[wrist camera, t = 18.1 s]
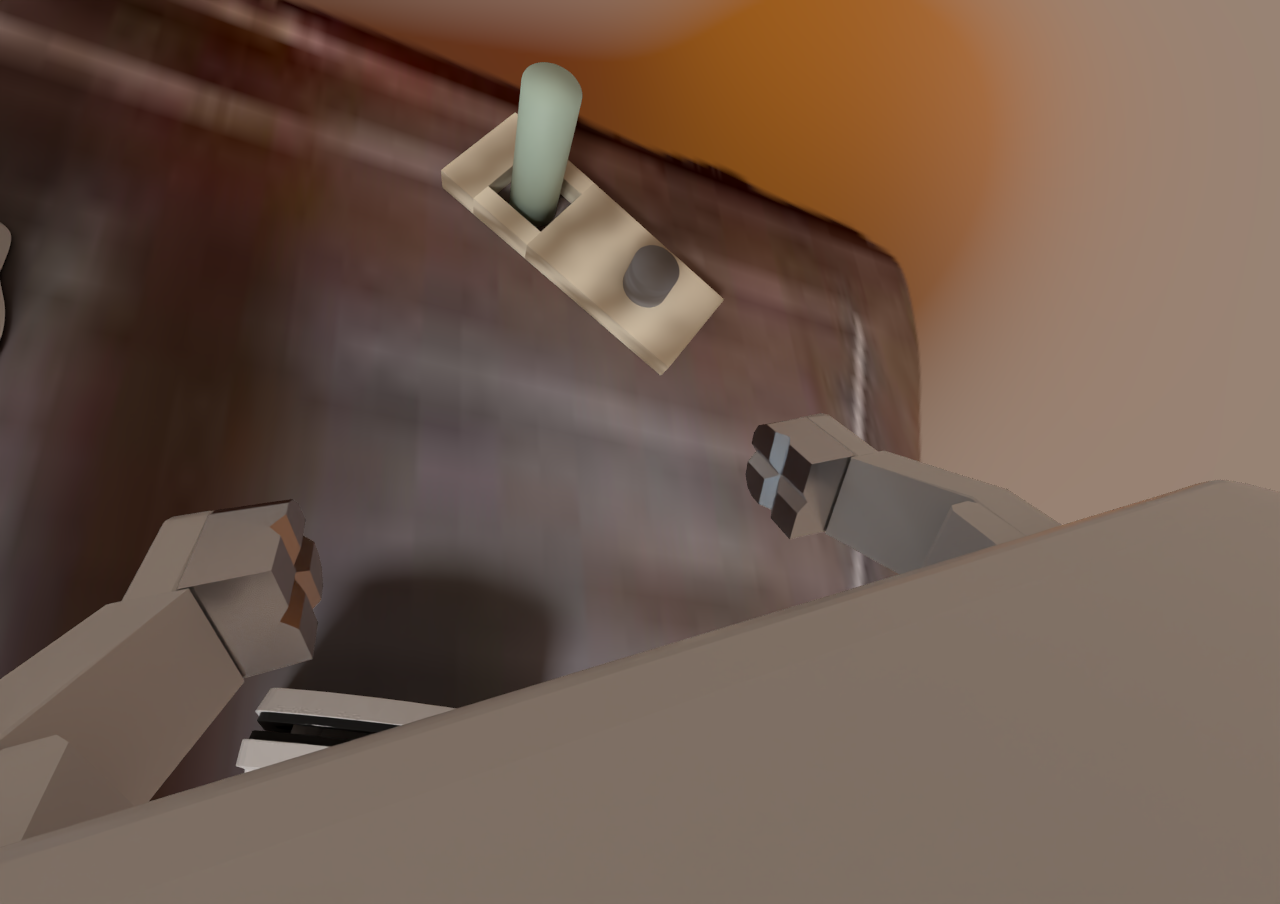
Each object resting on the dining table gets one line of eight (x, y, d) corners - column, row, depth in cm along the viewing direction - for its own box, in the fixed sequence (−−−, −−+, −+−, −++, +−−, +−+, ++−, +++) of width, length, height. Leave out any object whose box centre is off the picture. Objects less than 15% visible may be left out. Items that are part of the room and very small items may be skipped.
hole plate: (442, 187, 44) (438, 141, 39) (513, 130, 47) (518, 82, 42) (660, 375, 46) (682, 353, 41) (714, 309, 49) (739, 282, 44)
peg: (499, 203, 45) (508, 81, 34) (529, 177, 46) (548, 52, 35) (535, 235, 45) (556, 125, 34) (564, 208, 47) (594, 94, 35)
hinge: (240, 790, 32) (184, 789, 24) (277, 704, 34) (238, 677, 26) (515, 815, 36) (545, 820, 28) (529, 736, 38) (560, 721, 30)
